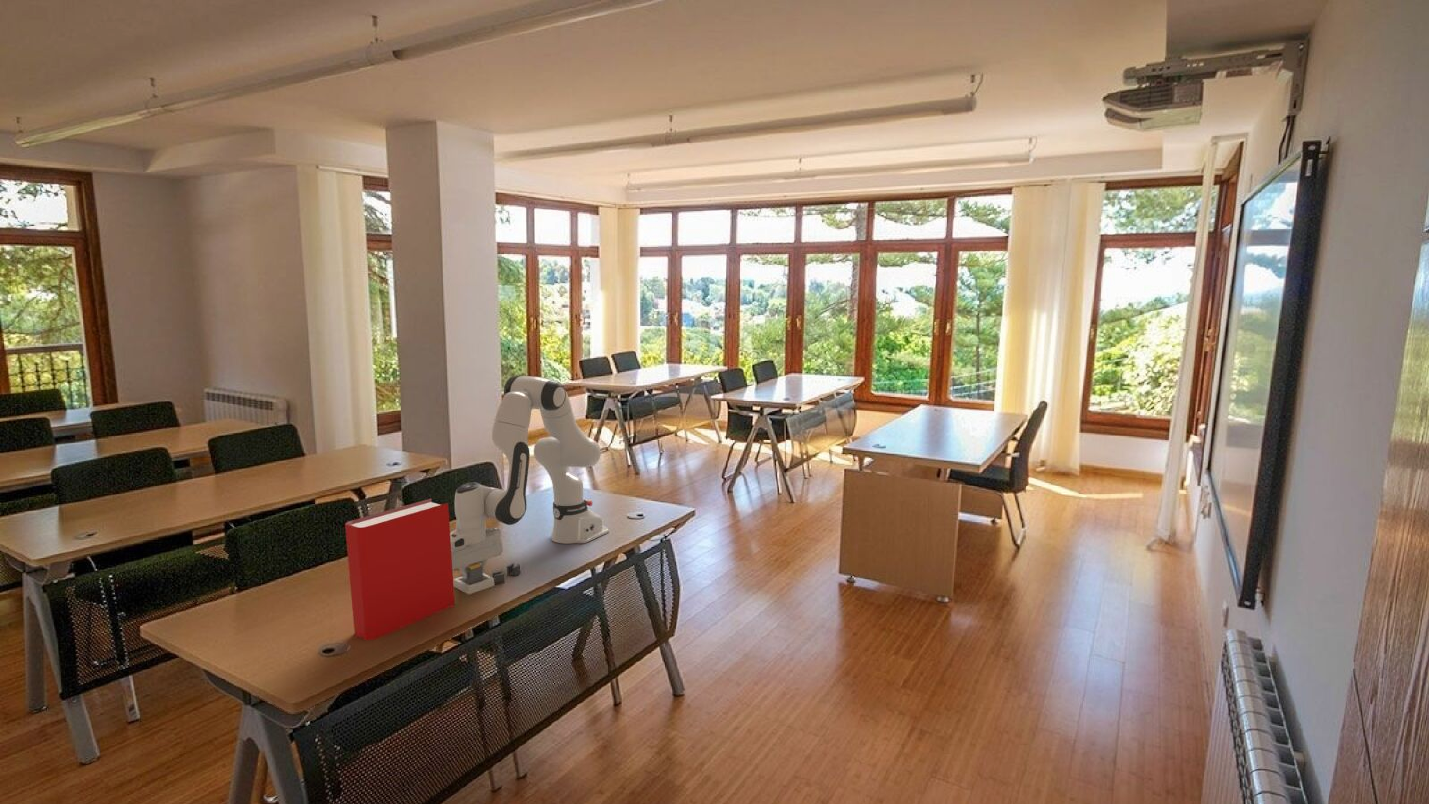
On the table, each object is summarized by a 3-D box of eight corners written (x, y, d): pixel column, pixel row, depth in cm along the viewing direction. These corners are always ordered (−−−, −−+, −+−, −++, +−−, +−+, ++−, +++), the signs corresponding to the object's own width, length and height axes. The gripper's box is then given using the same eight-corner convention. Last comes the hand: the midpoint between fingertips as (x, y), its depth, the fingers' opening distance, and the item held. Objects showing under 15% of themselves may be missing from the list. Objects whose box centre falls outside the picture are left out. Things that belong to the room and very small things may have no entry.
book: (438, 598, 221) (431, 498, 216) (454, 604, 217) (448, 502, 211) (352, 633, 199) (342, 523, 193) (368, 641, 194) (359, 528, 189)
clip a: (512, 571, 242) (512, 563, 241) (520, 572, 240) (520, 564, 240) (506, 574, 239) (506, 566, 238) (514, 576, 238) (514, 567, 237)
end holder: (479, 578, 236) (478, 570, 236) (494, 585, 230) (493, 578, 230) (453, 586, 229) (453, 579, 229) (468, 594, 224) (468, 587, 223)
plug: (476, 578, 232) (475, 560, 231) (483, 581, 230) (482, 563, 229) (465, 582, 230) (463, 564, 229) (471, 585, 227) (470, 567, 226)
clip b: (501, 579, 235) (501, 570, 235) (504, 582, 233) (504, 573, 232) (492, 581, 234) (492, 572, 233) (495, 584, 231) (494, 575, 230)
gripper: (494, 523, 237) (496, 563, 239) (436, 540, 222) (439, 582, 224) (505, 528, 233) (507, 568, 235) (446, 545, 218) (449, 588, 220)
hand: (473, 575), depth 229 cm, fingers closed on plug, 4 cm apart
